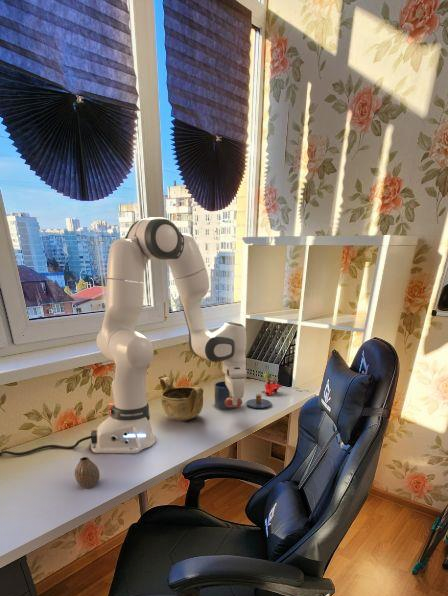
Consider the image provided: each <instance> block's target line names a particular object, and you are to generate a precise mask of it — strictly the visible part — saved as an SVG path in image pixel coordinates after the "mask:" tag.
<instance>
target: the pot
mask: <svg viewBox="0 0 448 596" xmlns="http://www.w3.org/2000/svg"><path fill="white" fill-rule="evenodd" d="M213 386H214V387H213V389H214V407H215V409H218V410H228V411H229V410H234V409H237V408H238V407H227V406H226V405H225V400H226V399H227V398H230V394H229V389H228V388H227V386H226V384H225V380H223V381H217V382H216V383H215V382H214V385H213Z"/></svg>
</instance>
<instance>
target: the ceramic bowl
mask: <svg viewBox="0 0 448 596" xmlns="http://www.w3.org/2000/svg"><path fill="white" fill-rule="evenodd" d="M159 384H160V387H161V390H162V392H161V398H160V399H161V401H160V402H161V407H162V410H163V411H164V414H166V416H167V417H169V418H170V419H172V420H174V421H178V422H185V421H190V420H192V419H194V418H196V417H197V416H198V415H199V414H200V413H201V412H202V410H203V408H204V407H203V406H204V389H203V387H201V386H198V387H194V386H176V387H175V386H174V384H173V382H172V380H171V378H170V377H168V376H166V377H162V378H160V379H159Z"/></svg>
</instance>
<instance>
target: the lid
mask: <svg viewBox="0 0 448 596" xmlns="http://www.w3.org/2000/svg"><path fill="white" fill-rule="evenodd" d="M245 404H246V405H247V407H249V408H254V409H265V408H269V407H271V405H272V402H271V401H270V400H269V399H264V398H262V394H261V393H257V394H255V398H252V399H248V400H247V401H246V402H245Z"/></svg>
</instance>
